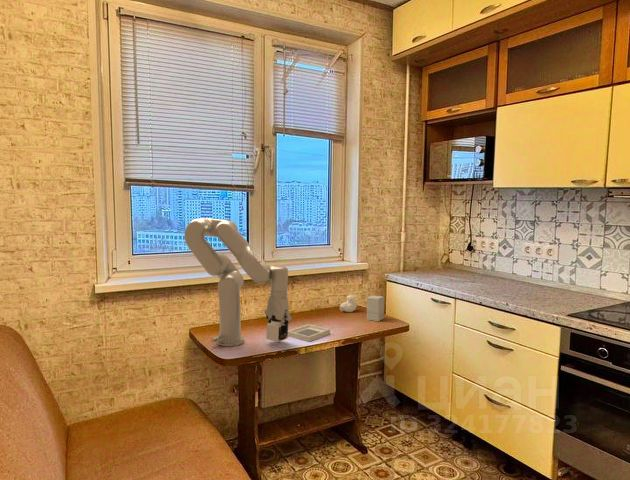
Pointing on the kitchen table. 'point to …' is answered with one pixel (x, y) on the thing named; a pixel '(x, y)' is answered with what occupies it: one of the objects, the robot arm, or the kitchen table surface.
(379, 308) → the supplement box
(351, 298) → the bust
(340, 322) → the kitchen table surface
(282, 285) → the robot arm
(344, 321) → the kitchen table surface
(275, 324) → the medicine bottle
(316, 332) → the tray
